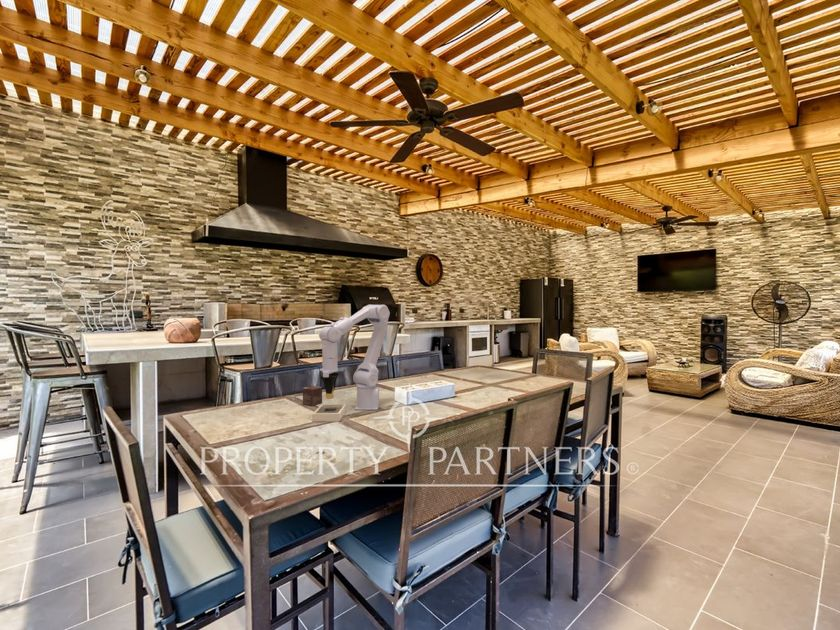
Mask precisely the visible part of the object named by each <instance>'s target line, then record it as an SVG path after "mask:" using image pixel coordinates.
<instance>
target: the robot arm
mask: <svg viewBox="0 0 840 630" xmlns="http://www.w3.org/2000/svg"><path fill="white" fill-rule="evenodd" d="M390 314H391V313H390V310H389V308H388V306H387V305H386V304H367V305H365V306H363V307H362V308H361V309H360V310H357V312H355V313H354V314H353V315H351V316H349V317H345V316H344V317H343V316H341V317H339V320H337V321H335V322H332V323H330V325H329V326H324V327H322V328H321V330H320V331H319V332H320V333H318V338H319V339H320V340H321V345H322V347H321V348H322V349H321V351H322V355H321V356H322V359H321V360H322V365H321V366H322V367H321V368H319V369H318V370H319V371H320V372H322V375H320V379H321V380H322V383H323V386H324V390H325V395H326V394H332V391H333V393H334V392H335V388H336V383H337V379H338V376H339V374H340V372H338V371H339V367H338V366H339V365H338V342H339V341H340V339H341V337H342V336H343V335H345V334H347V333H348V332H350V331H351V330H352V329H353V326H354V325H355V324H358V323H360V322H361V321H364V320H366V319H367V320H368V321H369V322H370V323H371V325H372V326H373V330H372V334H371V336H370V341H369V344H368V346H367V350H366V353H365V355H364V359H363V362H362V363H360V364H359V365H358V366H357V368H356V371H355V372H354V374H353V377H352V378H353V379H352V380H353V382H354V383H355V387H356V406H355V408H354V410H356V411H357V410H360V411H365V410H366V411H368V410H369V411H370V410H373V411H375V410H376V411H377V410H379V407H380V403H381V402H380V401H381V400H380V387H379V386H376V385H377V384H378V381H379V373H380V371H379V369H378V368H377V363H378V361H379V360H378V359H379V356H380V354H381V349H382V346H383V343H384V340H385V337H386V334H387V330H388V325H389V318H390Z"/></svg>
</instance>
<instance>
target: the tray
mask: <svg viewBox="0 0 840 630" xmlns="http://www.w3.org/2000/svg"><path fill="white" fill-rule="evenodd" d="M322 407H342V408H341V409H340V411H339V412H338V413H318V412H319V410H320V409H321V408H322ZM346 413H347V403H342V404H341V403H321V404H319V407H317V408H316V409H315V411H313V413H312V422H315V423H317V422H321V423H323V422H324V423H325V422H329V423H331V422H333V423H334V422H335V423H337V422H339V423H340V421H341V420H342V419H343V417H344V416H345V414H346Z"/></svg>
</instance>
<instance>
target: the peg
mask: <svg viewBox="0 0 840 630" xmlns="http://www.w3.org/2000/svg"><path fill="white" fill-rule="evenodd" d="M334 394H335V393H334V392H333V391H332V394H326V393H325V399H327V400H329V399H330V400H331V399H335V398H334V396H335V395H334Z"/></svg>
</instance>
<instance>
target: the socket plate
mask: <svg viewBox="0 0 840 630" xmlns="http://www.w3.org/2000/svg"><path fill="white" fill-rule="evenodd" d="M341 408H342V407H322V408H321V409H320V410H319V412H318V413H338V412H339V411H340V409H341Z"/></svg>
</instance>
